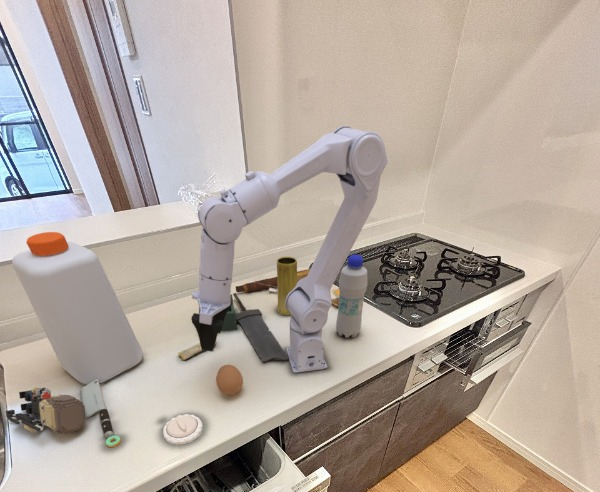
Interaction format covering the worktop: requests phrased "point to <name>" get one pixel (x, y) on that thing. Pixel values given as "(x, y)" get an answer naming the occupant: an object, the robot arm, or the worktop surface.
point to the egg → (229, 380)
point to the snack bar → (190, 351)
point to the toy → (49, 411)
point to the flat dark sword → (259, 334)
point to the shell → (336, 293)
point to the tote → (229, 319)
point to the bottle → (351, 297)
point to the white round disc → (182, 429)
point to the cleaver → (96, 405)
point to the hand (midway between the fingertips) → (211, 340)
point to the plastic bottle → (77, 308)
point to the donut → (114, 444)
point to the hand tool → (267, 283)
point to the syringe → (271, 289)
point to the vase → (285, 281)
